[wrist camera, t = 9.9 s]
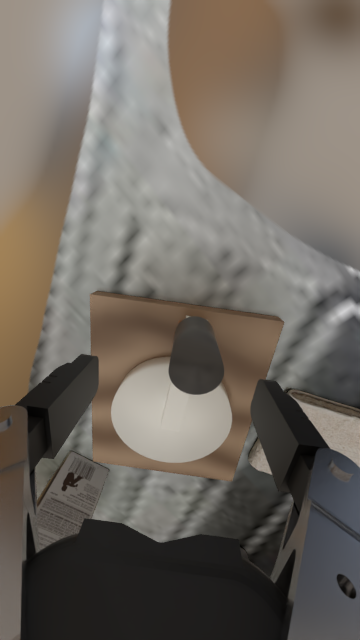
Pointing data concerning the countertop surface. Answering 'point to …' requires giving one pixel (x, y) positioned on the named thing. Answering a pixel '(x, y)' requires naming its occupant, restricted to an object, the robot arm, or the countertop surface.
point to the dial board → (157, 341)
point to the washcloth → (322, 427)
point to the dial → (176, 399)
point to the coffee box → (69, 498)
